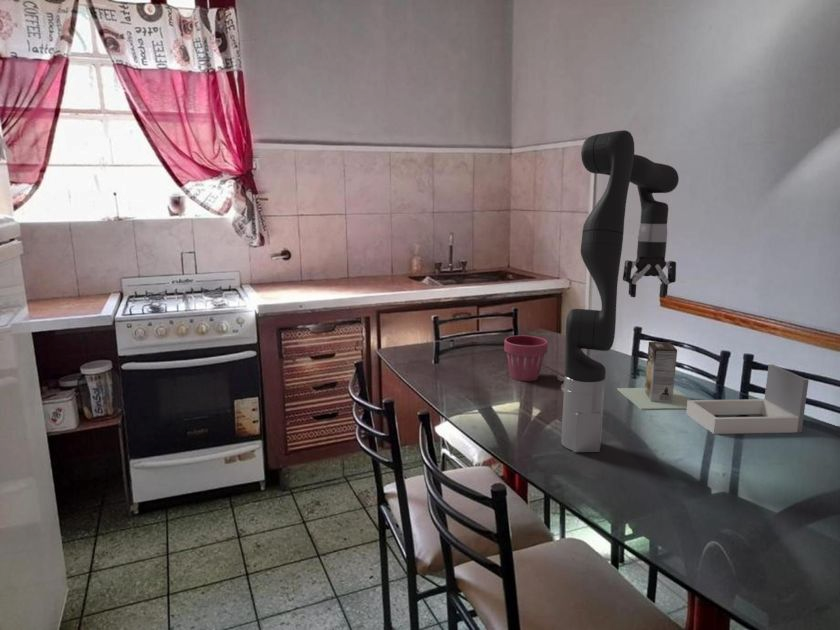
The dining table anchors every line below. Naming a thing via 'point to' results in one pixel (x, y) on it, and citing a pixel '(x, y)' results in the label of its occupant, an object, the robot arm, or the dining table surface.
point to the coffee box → (660, 371)
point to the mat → (644, 402)
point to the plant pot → (525, 356)
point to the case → (757, 408)
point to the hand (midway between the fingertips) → (647, 297)
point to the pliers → (561, 381)
